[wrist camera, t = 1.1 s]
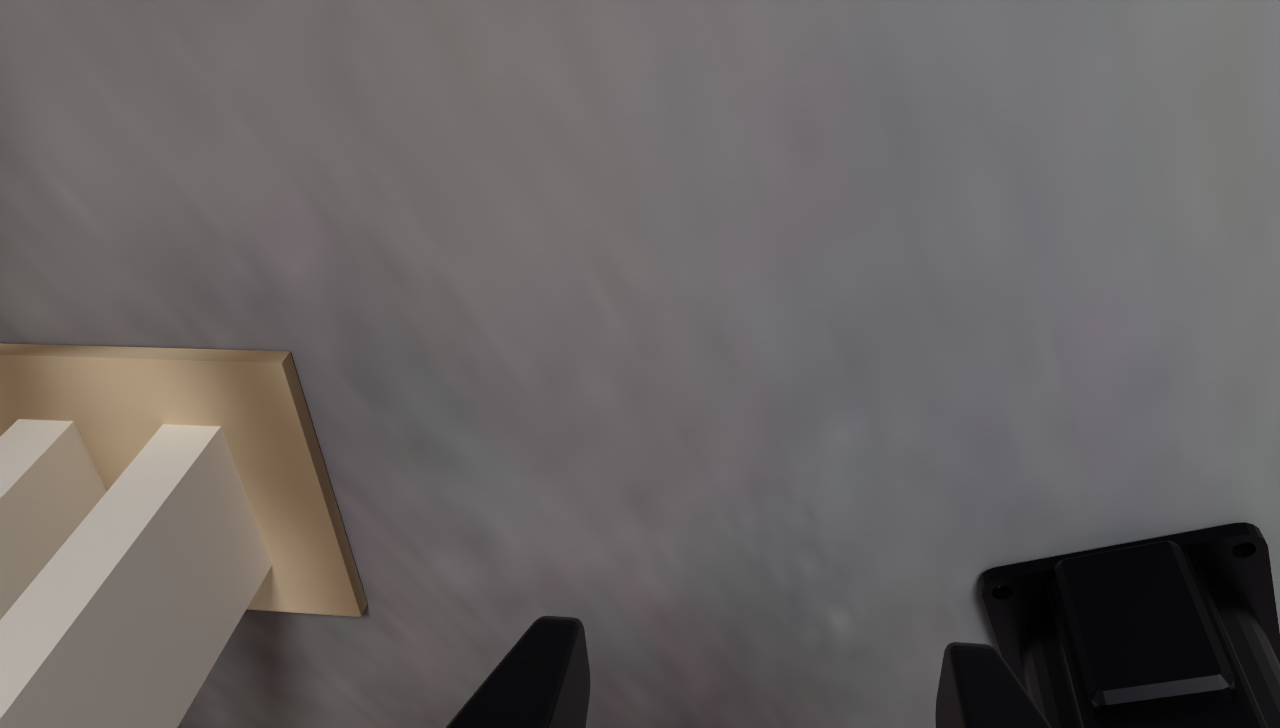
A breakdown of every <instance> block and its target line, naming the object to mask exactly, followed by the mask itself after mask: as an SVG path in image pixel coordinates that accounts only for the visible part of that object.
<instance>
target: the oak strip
mask: <svg viewBox="0 0 1280 728" xmlns="http://www.w3.org/2000/svg"><path fill="white" fill-rule="evenodd" d="M18 419H30V420H56V421H74V423H75V425H76V427H77V429H78V432H79V434H80V436H81V438H82V440H83V442H84V444H85V446H86V448H87V451H88V453H89V455H90V457H91V459H92V461H93V463H94V465H95V467H96V470H97V472H98V474H99V476H100V478H101V480H102V482H103V484H104V487H105V489H106V491H108V490H109V489H110V487H111V486H112V485H113V484H114V483H115V481H116V480H117V479H118V478H119V477H120V475H121V474H122V473H123V472H124V471H125V469H126V468H127V467H128V466H129V465H130V463H131V462H132V461H133V460H134V459H135V457H136V456H137V455H138V454H139V453H140V451H141V450H142V449H143V448H144V447H145V445H146V444H147V443H148V442H149V440H150V439H151V438H152V437H153V436H154V434H155V433H156V432H157V431H158V430H159V428H160V427H161V426H162V425H163V424H171V425H196V426H221V429H222V431H223V434H224V437H225V439H226V442H227V445H228V447H229V450H230V453H231V456H232V458H233V461H234V464H235V466H236V469H237V472H238V474H239V477H240V480H241V483H242V485H243V488H244V491H245V493H246V496H247V499H248V501H249V504H250V507H251V509H252V512H253V515H254V518H255V520H256V523H257V526H258V528H259V531H260V534H261V536H262V539H263V542H264V545H265V547H266V550H267V553H268V555H269V558H270V561H271V563H272V566H271V568H270V570H269V571H268V573H267V575H266V576H265V578H264V580H263V582H262V583H261V585H260V587H259V588H258V590H257V592H256V594H255V595H254V597H253V599H252V600H251V602H250V604H249V606H248V607H247V609H250V610H265V611H280V612H295V613H310V614H325V615H340V616H355V617H361V616H362V614H363V612H364V610H365V608H366V605H367V601H366V598H365V595H364V592H363V588H362V585H361V582H360V579H359V575H358V572H357V569H356V565H355V562H354V559H353V556H352V552H351V549H350V546H349V543H348V539H347V536H346V533H345V529H344V526H343V523H342V520H341V516H340V513H339V510H338V507H337V503H336V500H335V497H334V493H333V490H332V487H331V484H330V480H329V477H328V474H327V471H326V467H325V464H324V461H323V457H322V454H321V451H320V448H319V444H318V441H317V438H316V435H315V431H314V428H313V425H312V421H311V418H310V415H309V412H308V408H307V405H306V402H305V399H304V395H303V392H302V389H301V385H300V382H299V379H298V376H297V372H296V369H295V366H294V363H293V359H292V356H291V353H290V351H254V350H218V349H182V348H146V347H110V346H74V345H39V344H3V343H0V437H1V436H2V435H3V434H4V433H5V432H6V431H7V430H8V429H9V428H10V427H11V426H12V425H13V424H14V423H15V422H16V421H17V420H18Z"/></svg>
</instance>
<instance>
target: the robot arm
mask: <svg viewBox="0 0 1280 728" xmlns="http://www.w3.org/2000/svg"><path fill="white" fill-rule="evenodd" d="M1242 542H1246V543H1245V544H1242V545H1239V546H1236V545H1237V544H1239V543H1242ZM998 586H1006V587H1003V588H996V587H998ZM980 588H981V593H982V597H983V600H984V603H985V606H986V609H987V612H988V615H989V618H990V621H991V624H992V627H993V629H994V632H995V635H996V638H997V641H998V644H999V647H1000V650H1001V653H1002V656H1003V657H1002V656H1001V654H1000V653H999V652H998V651H997V650H996V649H995V648H994V647H992V646H991V645H987V644H976V643H960V642H953V643H950V644H948V645H947V647H946V649H945V652H944V657H943V663H942V669H941V675H940V681H939V687H938V693H937V699H936V728H1280V632H1279V625H1278V618H1277V610H1276V603H1275V596H1274V588H1273V581H1272V574H1271V567H1270V559H1269V552H1268V546H1267V543H1266V541H1265V539H1264V537H1263V535H1262V534H1261V532H1260V530H1259V528H1258V527H1256V526H1255V525H1253V524H1249V523H1233V524H1228V525H1223V526H1217V527H1212V528H1206V529H1201V530H1195V531H1190V532H1185V533H1179V534H1174V535H1168V536H1163V537H1158V538H1152V539H1147V540H1141V541H1136V542H1131V543H1125V544H1120V545H1114V546H1109V547H1103V548H1098V549H1093V550H1087V551H1082V552H1076V553H1071V554H1066V555H1060V556H1055V557H1049V558H1044V559H1039V560H1033V561H1028V562H1022V563H1017V564H1012V565H1006V566H1001V567H995V568H992V569H989V570H987V571H986V572H985V573H983V574H982V576H981V578H980ZM589 695H590V670H589V662H588V655H587V647H586V640H585V632H584V627H583V624H582V622H581V621H580V620H579V619H577V618H573V617H558V616H542V617H540V618H538V619H537V620H536V621H535V622H534V623H533V624H532V625H531V626H530V628H529V629H528V630H527V631H526V632H525V634H524V635H523V636H522V637H521V638H520V639H519V641H518V642H517V643H516V644H515V645H514V647H513V648H512V649H511V650H510V651H509V653H508V654H507V655H506V656H505V657H504V659H503V660H502V661H501V662H500V663H499V665H498V666H497V667H496V668H495V669H494V671H493V672H492V673H491V674H490V675H489V676H488V678H487V679H486V680H485V681H484V682H483V684H482V685H481V686H480V687H479V688H478V690H477V691H476V692H475V693H474V694H473V696H472V697H471V698H470V699H469V700H468V702H467V703H466V704H465V705H464V706H463V708H462V709H461V710H460V711H459V712H458V713H457V715H456V716H455V717H454V718H453V719H452V721H451V722H450V723H449V724H448V725H447V727H446V728H585V726H586V718H587V711H588V703H589Z"/></svg>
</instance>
